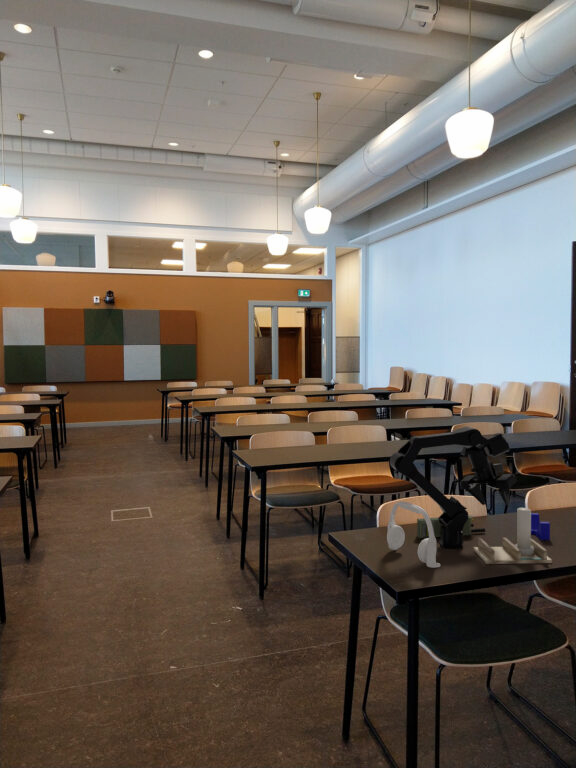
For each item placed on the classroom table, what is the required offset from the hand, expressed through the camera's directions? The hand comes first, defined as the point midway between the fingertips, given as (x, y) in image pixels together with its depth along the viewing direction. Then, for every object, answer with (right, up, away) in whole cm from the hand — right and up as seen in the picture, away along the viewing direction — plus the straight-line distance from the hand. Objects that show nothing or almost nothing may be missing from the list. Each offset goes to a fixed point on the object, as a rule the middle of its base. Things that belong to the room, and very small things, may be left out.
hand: (495, 504), depth 189 cm
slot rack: (+1, -14, -12) cm, 18 cm away
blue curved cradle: (+18, -13, +9) cm, 24 cm away
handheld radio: (-12, -13, +10) cm, 20 cm away
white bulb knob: (+5, -13, -12) cm, 18 cm away
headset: (-31, -15, -12) cm, 37 cm away
